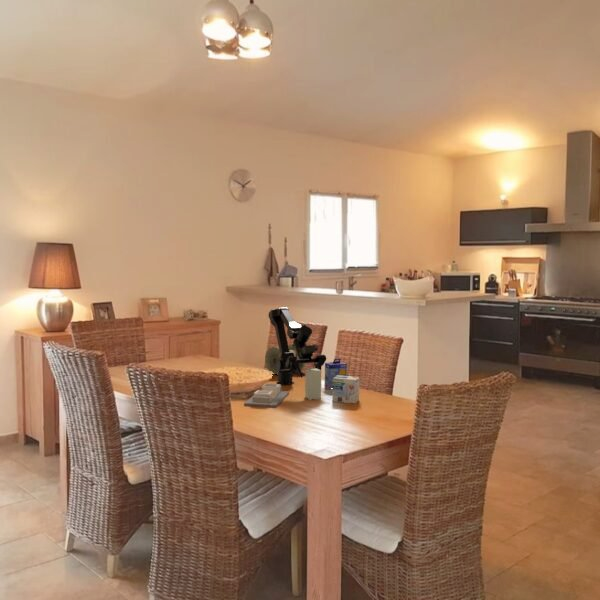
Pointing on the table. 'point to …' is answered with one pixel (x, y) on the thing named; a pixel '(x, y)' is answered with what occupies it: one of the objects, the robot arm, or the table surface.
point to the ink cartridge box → (334, 371)
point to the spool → (273, 355)
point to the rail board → (273, 404)
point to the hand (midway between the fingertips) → (311, 376)
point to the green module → (313, 384)
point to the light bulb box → (345, 389)
